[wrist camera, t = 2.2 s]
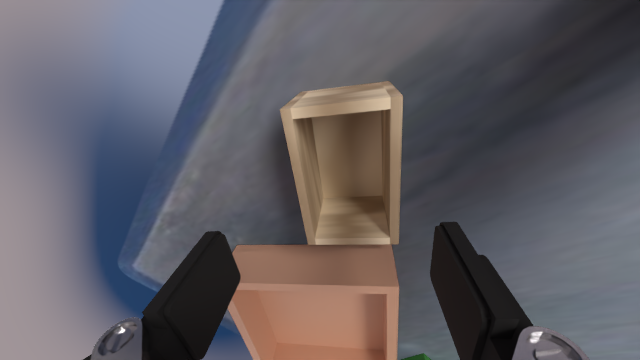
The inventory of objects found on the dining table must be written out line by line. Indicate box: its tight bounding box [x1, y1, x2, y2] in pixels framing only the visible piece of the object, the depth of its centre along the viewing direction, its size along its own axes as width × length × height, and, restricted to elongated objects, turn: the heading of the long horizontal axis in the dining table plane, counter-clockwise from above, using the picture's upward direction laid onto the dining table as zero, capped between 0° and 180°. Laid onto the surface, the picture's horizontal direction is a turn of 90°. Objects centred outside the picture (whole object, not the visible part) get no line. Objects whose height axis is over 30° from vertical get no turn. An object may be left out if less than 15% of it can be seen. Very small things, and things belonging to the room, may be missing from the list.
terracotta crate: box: [228, 244, 399, 360], centre depth 28 cm, size 17×19×5 cm
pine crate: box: [280, 81, 403, 245], centre depth 18 cm, size 6×10×6 cm, turn 8°
